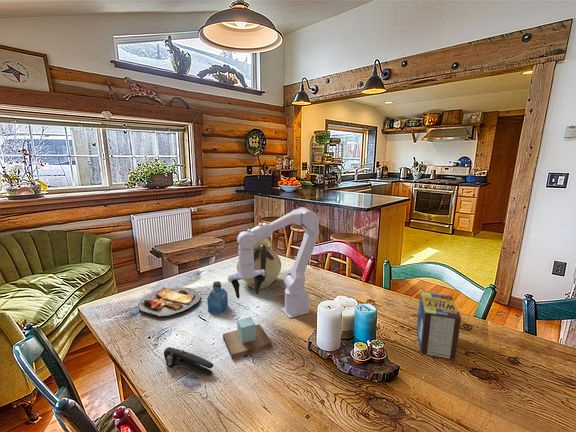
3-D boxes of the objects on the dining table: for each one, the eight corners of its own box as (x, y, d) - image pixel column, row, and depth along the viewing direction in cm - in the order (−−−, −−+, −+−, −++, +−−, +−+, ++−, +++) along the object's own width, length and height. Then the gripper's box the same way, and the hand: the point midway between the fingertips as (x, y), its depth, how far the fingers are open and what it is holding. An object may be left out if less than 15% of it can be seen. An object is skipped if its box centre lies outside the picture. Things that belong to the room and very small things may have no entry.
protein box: (446, 333, 106) (451, 295, 103) (455, 361, 92) (462, 317, 88) (416, 328, 109) (420, 290, 106) (420, 354, 95) (424, 311, 92)
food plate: (126, 310, 121) (126, 302, 120) (168, 287, 142) (167, 281, 142) (173, 324, 112) (172, 316, 111) (210, 298, 133) (209, 291, 133)
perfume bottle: (221, 313, 119) (220, 286, 116) (208, 312, 120) (206, 285, 118) (227, 306, 125) (226, 280, 122) (214, 304, 126) (213, 279, 124)
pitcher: (257, 270, 162) (256, 228, 157) (291, 281, 149) (292, 235, 143) (228, 285, 145) (225, 238, 139) (263, 299, 131) (262, 247, 125)
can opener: (158, 367, 89) (157, 351, 88) (175, 353, 96) (174, 338, 94) (205, 384, 83) (203, 367, 81) (219, 368, 89) (218, 352, 88)
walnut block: (259, 329, 109) (259, 323, 108) (272, 348, 98) (272, 342, 98) (223, 340, 103) (222, 333, 102) (232, 361, 92) (231, 354, 92)
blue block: (251, 331, 104) (250, 316, 102) (255, 339, 99) (255, 324, 98) (237, 335, 102) (237, 320, 100) (241, 343, 97) (241, 327, 96)
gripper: (260, 256, 117) (260, 287, 119) (225, 262, 110) (226, 294, 113) (266, 262, 110) (267, 294, 113) (229, 268, 104) (231, 302, 107)
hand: (247, 295), depth 113 cm, fingers open, 7 cm apart
